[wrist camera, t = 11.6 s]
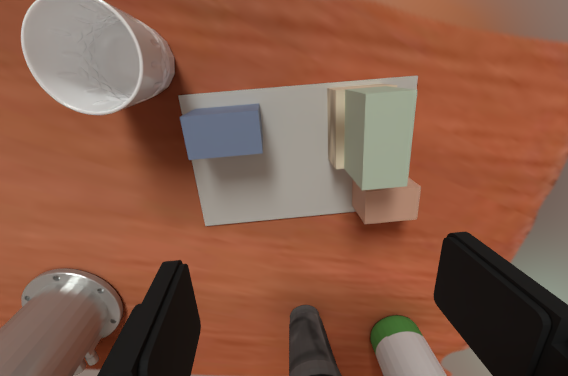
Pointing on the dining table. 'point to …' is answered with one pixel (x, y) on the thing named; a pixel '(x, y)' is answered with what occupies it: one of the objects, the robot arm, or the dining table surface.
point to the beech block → (339, 122)
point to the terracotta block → (386, 203)
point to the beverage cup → (309, 345)
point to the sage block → (379, 135)
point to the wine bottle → (403, 349)
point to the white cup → (94, 55)
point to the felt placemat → (277, 157)
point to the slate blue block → (223, 131)
